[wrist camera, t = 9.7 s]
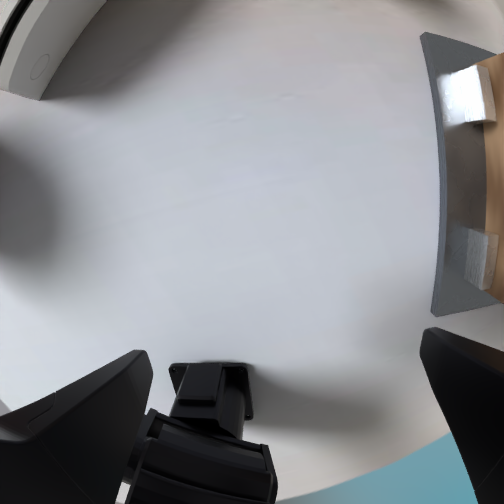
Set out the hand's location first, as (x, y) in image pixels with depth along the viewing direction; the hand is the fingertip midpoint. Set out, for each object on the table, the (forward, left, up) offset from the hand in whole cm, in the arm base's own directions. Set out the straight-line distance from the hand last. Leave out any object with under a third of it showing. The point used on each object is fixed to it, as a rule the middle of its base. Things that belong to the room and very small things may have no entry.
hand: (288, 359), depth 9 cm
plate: (+5, -18, -12) cm, 22 cm away
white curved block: (+21, +14, -12) cm, 28 cm away
